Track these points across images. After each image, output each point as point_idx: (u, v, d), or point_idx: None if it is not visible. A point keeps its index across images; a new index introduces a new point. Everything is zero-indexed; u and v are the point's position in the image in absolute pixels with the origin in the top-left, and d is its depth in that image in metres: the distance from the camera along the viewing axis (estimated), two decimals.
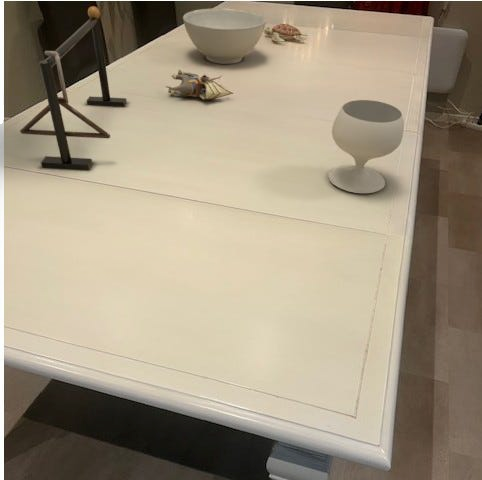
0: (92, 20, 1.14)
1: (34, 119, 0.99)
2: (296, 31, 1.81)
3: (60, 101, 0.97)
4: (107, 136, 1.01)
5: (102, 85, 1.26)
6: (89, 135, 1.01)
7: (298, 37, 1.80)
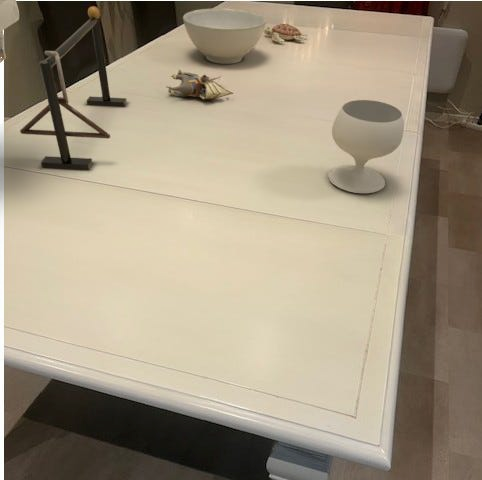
0: (92, 20, 1.14)
1: (34, 119, 0.99)
2: (296, 31, 1.81)
3: (60, 101, 0.97)
4: (107, 136, 1.01)
5: (102, 85, 1.26)
6: (89, 135, 1.01)
7: (298, 37, 1.80)
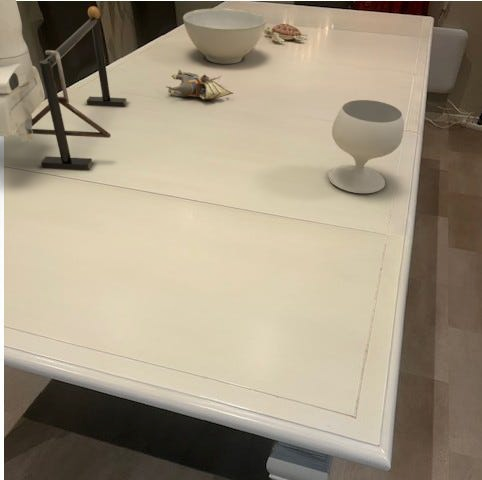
0: (92, 20, 1.14)
1: (35, 118, 1.00)
2: (296, 31, 1.81)
3: (61, 100, 0.97)
4: (107, 135, 1.02)
5: (102, 85, 1.26)
6: (89, 134, 1.02)
7: (298, 37, 1.80)
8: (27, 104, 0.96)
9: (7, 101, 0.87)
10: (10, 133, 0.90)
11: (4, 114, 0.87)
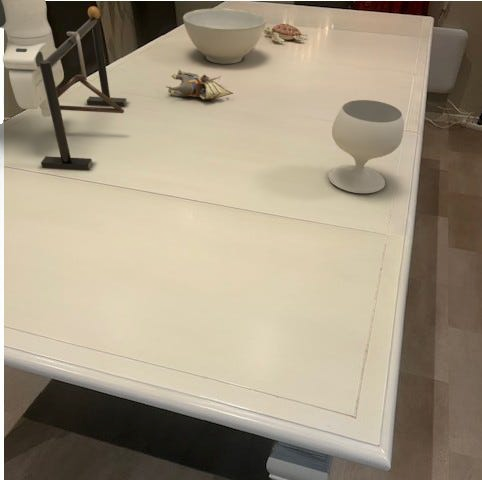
0: (92, 20, 1.14)
1: None
2: (296, 31, 1.81)
3: (79, 78, 1.07)
4: (121, 111, 1.11)
5: (102, 85, 1.26)
6: (105, 110, 1.11)
7: (298, 37, 1.80)
8: None
9: (33, 77, 0.97)
10: (35, 106, 1.00)
11: (30, 88, 0.97)
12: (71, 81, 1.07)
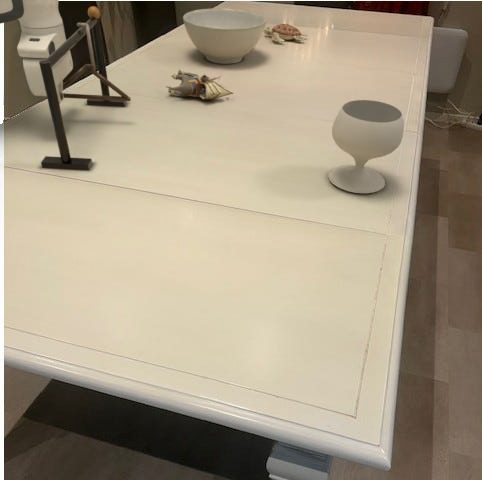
0: (92, 20, 1.14)
1: (65, 84, 1.15)
2: (296, 31, 1.81)
3: (88, 67, 1.12)
4: (128, 99, 1.17)
5: (102, 85, 1.26)
6: (112, 98, 1.17)
7: (298, 37, 1.80)
8: (60, 70, 1.12)
9: None
10: None
11: None
12: (80, 70, 1.13)
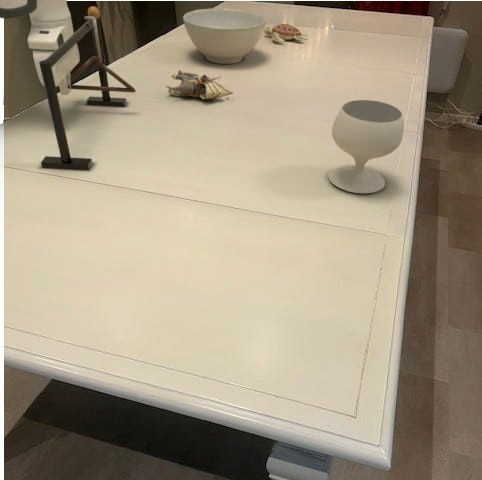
0: None
1: (73, 75, 1.20)
2: (296, 31, 1.81)
3: (95, 59, 1.17)
4: (133, 90, 1.21)
5: (102, 85, 1.26)
6: (118, 89, 1.21)
7: (298, 37, 1.80)
8: (68, 62, 1.16)
9: None
10: (56, 84, 1.10)
11: (52, 67, 1.07)
12: (87, 62, 1.17)
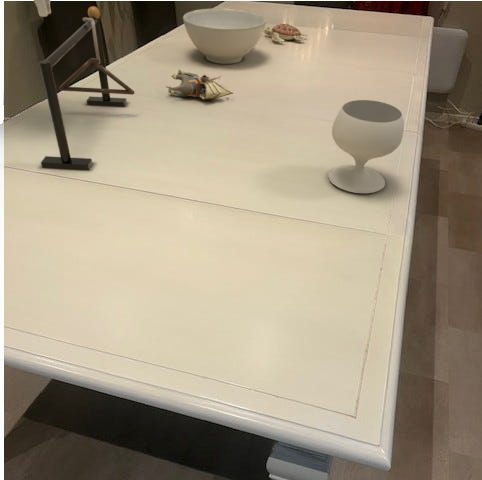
0: None
1: (71, 77, 1.18)
2: (296, 31, 1.81)
3: (93, 61, 1.16)
4: (132, 92, 1.20)
5: (102, 85, 1.26)
6: (117, 91, 1.20)
7: (298, 37, 1.80)
8: None
9: None
10: None
11: None
12: (86, 64, 1.16)
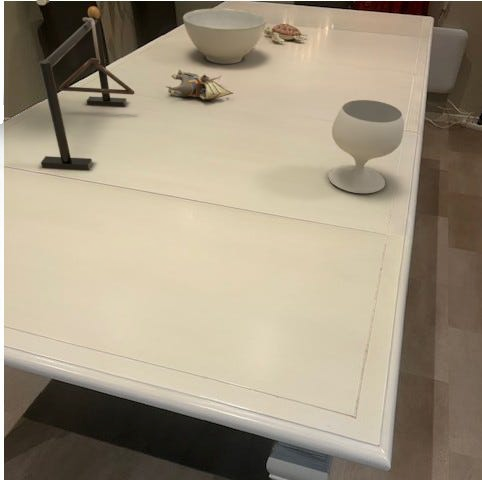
0: None
1: (71, 77, 1.18)
2: (296, 31, 1.81)
3: (93, 61, 1.16)
4: (132, 92, 1.20)
5: (102, 85, 1.26)
6: (117, 91, 1.20)
7: (298, 37, 1.80)
8: None
9: None
10: None
11: None
12: (86, 64, 1.16)
